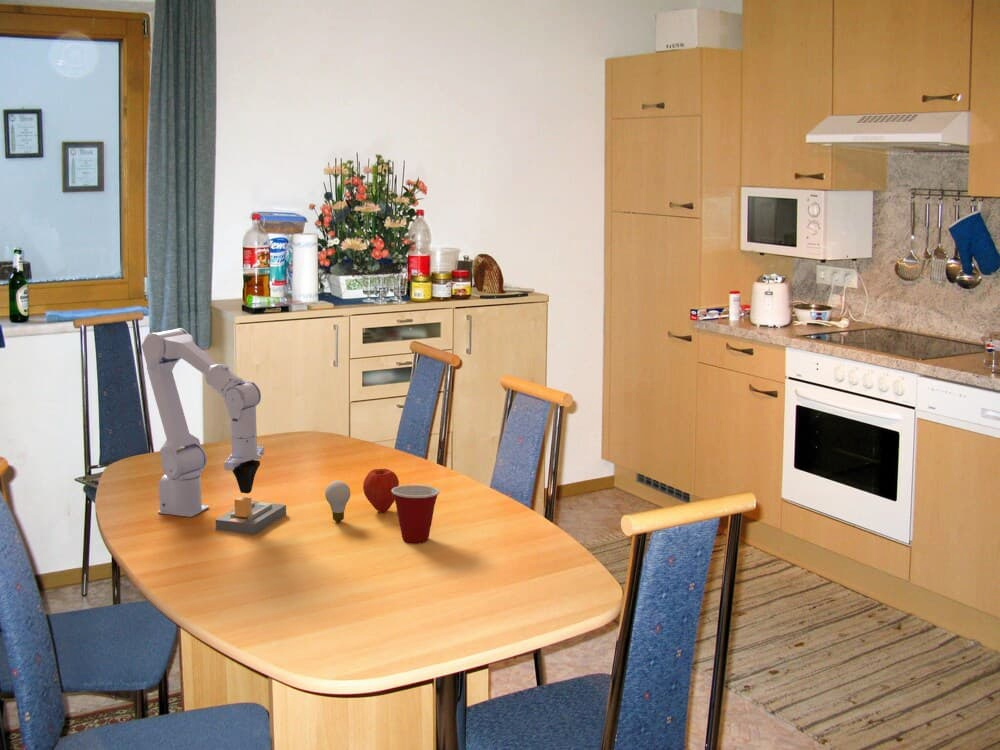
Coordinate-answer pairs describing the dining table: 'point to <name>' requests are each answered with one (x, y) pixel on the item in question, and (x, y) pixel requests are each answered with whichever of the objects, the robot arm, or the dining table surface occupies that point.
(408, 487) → the plastic cup
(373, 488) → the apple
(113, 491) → the dining table surface
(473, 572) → the dining table surface
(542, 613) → the dining table surface
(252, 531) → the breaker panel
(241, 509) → the handle
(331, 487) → the light bulb
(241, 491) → the robot arm
